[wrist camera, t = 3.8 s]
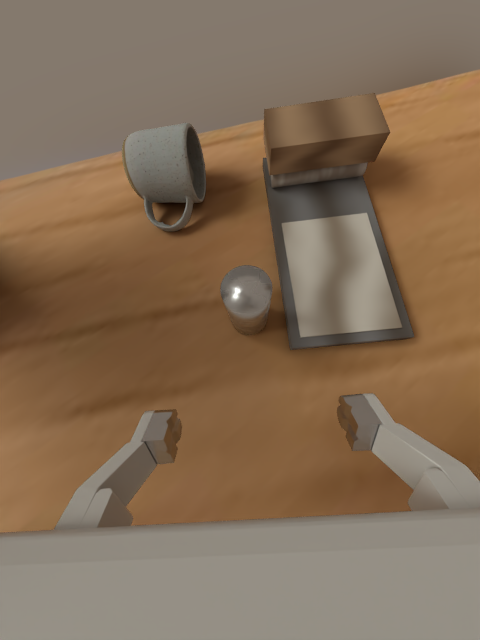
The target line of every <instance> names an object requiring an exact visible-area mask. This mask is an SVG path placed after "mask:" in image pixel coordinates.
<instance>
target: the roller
mask: <svg viewBox="0 0 480 640" xmlns="http://www.w3.org/2000/svg"><path fill="white" fill-rule="evenodd" d="M271 295H272V283H271V280H270V278H269V276H268V275H267V274H266V273H265V272H264V271H263V270H261V269H260V268H258V267H255V266H250V265H244V266H239V267H236V268H234V269H232V270H231V271H230V272H228V273H227V274H226V276H225V277H224V279H223V281H222V283H221V296H222V299H223V302H224V304H225V306H226V309H227V311H228V314H229V316H230V319H231V321H232V323H233V326H234V327H235V329H236V330H237V331H238V332H240V333H241V334H244V335H255V334H257V333H259V332H261V331H262V330H263V329H264V327H265V326H266V323H267V318H268V312H269V307H270V301H271Z"/></svg>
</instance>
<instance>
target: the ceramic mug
mask: <svg viewBox="0 0 480 640" xmlns="http://www.w3.org/2000/svg"><path fill="white" fill-rule="evenodd" d="M122 159H123V165H124V170H125V173H126V175H127V178H128V180H129V183H130V184H131V186H132V188H133V189H134V191H135V192H136V193H137V194H138V195H139V196H140V197H141V198H142V199H144V207H145V212H146V214H147V217H148V218H149V220H150V221H151V222H152V223H153V224H154V225H155V226H157V227H158V228H160V229H162V230H164V231H170V232H172V231H178V230H180V229H182V228H183V227H184V226H185V225H186V224H187V223H188V221H189V219H190V217H191V213H192V208H193V203H201V202H202V201H203V200H204V197H205V192H206V173H205V163H204V159H203V153H202V149H201V145H200V142H199V138H198V136H197V133H196V131H195V129H194V127H193V126H192V125H191V124H189V123H184V124H179V125H173V126H167V127H161V128H156V129H149V130H142V131H138V132H135V133H133V134H131V135H129V136H127V137H126V139H125V140H124V142H123V147H122ZM153 202H156V203H169V202H175V203H186V206H185V210H184V213H183V215H182V217H181V218H180V219H179V220H178V221H177V222H176V223H175V224H174V225H166V224H164V223H163V222H158V221H156V219H155V217H154V214H153V209H152V203H153Z"/></svg>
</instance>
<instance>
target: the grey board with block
mask: <svg viewBox="0 0 480 640" xmlns="http://www.w3.org/2000/svg"><path fill="white" fill-rule="evenodd" d="M389 133H390V130H389V128H388V125H387V123H386V120H385V118H384V115H383V113H382V110H381V108H380V105H379V103H378V100H377V98H376V95H375V93H372V94H365V95H358V96H351V97H345V98H338V99H331V100H325V101H318V102H311V103H304V104H297V105H291V106H284V107H277V108H271V109H265V110H264V145H265V151H266V157H267V158H263V172H264V178H265V185H266V192H267V198H268V205H269V212H270V218H271V225H272V231H273V238H274V245H275V251H276V258H277V265H278V271H279V278H280V285H281V291H282V298H283V305H284V311H285V318H286V325H287V331H288V338H289V344H290V350H295V349H306V348H316V347H327V346H338V345H348V344H359V343H370V342H381V341H391V340H402V339H408V338H412V337H414V334H413V331H412V328H411V324H410V321H409V318H408V315H407V312H406V309H405V306H404V303H403V300H402V296H401V293H400V290H399V287H398V284H397V281H396V278H395V275H394V272H393V268H392V265H391V262H390V259H389V256H388V253H387V250H386V247H385V244H384V240H383V237H382V234H381V231H380V228H379V225H378V222H377V219H376V215H375V212H374V209H373V206H372V203H371V200H370V197H369V194H368V191H367V187H366V184H365V181H364V178H363V174H364V173H365V171H366V168H367V164H368V162H374V161H375V159H376V158H377V156H378V154H379V152H380V150H381V148H382V146H383V145H384V143H385V141H386V139H387V137H388V135H389Z"/></svg>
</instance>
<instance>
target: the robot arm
mask: <svg viewBox="0 0 480 640" xmlns="http://www.w3.org/2000/svg"><path fill="white" fill-rule="evenodd" d="M339 403H340V406H339V407H338V408H337V416H338V420H339V423H340V425H341V428H343V429H344V430H345V431H346V439H347V441H348V443H349V445H350V447H351V449H352V451H360V450H372V452H373V453H374V454H375V455H376V456H377V457H378V458H379V459H381V460H382V461H383V462H384V463H385V464H386V465H387V466H388V467H389V468H390V469H391V470H392V471H394V472H395V473H396V474H397V475H398V476H399V477H400V478H401V479H402V480H403V481H404V482H406V483H407V484H408V485H409V486H410V487H411V488H412V489H413V490H414V491H413V493H412V494H411V496H410V498H409V500H408V505H409V507H410V508H411V510H412V511H403V512H384V513H365V514H345V515H326V516H307V517H288V518H268V519H249V520H230V521H211V522H192V523H173V524H154V525H135V526H131V523H132V520H133V516H132V514H131V513H130V511H129V510H128V509H127V508H126V506H127V504H128V503H129V502H130V500H131V499H132V498H133V496H134V495H135V494H136V492H137V491H138V490H139V488H140V487H141V486H142V485H143V483H144V482H145V481H146V479H147V478H148V477H149V475H150V474H151V473H152V471H153V470H154V469H155V467H156V466H157V465H156V464H166V463H174V461H175V457H176V454H177V450H178V448H177V445H176V443H177V442H178V441H179V440H180V438H181V432H182V425H181V421H180V419H178V418H177V415H178V413H177V411H176V409H173V410H154V411H145V412H144V414H143V415H142V417H141V420H140V422H139V424H138V426H137V428H136V430H135V433H134V435H133V437H132V439H131V441H130V443H126V444H125V445H124V446H123V447H122V448H121V449H120V450H119V451H118V452H117V453H116V454H114V455H113V456H112V457H111V458H110V459H109V460H108V461H107V462H106V463H105V464H104V465H103V466H101V467H100V468H99V469H98V470H97V471H96V472H95V473H94V474H93V475H92V476H91V477H90V478H88V479H87V480H86V481H85V482H84V483H83V484H82V485H81V486H80V487H79V488H78V489H77V490H76V492H75V493H74V495H73V497H72V499H71V500H70V502H69V504H68V506H67V507H66V509H65V511H64V513H63V514H62V516H61V518H60V520H59V521H58V523H57V525H56V527H55V528H54V530H40V531H21V532H2V533H0V640H480V481H479V480H478V479H477V478H476V477H475V475H474V474H473V473H472V472H471V471H470V470H469V468H468V467H467V466H466V465H464V464H463V463H461V462H459V461H458V460H456V459H455V458H453V457H452V456H450V455H448V454H447V453H445V452H444V451H442V450H441V449H439V448H437V447H436V446H434V445H433V444H431V443H429V442H428V441H426V440H425V439H423V438H422V437H420V436H418V435H417V434H415V433H414V432H412V431H411V430H409V429H407V428H406V427H404V426H403V425H401V424H399V423H395V422H394V420H393V419H392V418H391V416H390V415H389V413H388V412H387V411H386V409H385V408H384V407H383V405H382V404H381V402H380V401H379V400H378V398H377V397H376V395H375V394H373V393H369V394H355V395H344V396H340V397H339Z"/></svg>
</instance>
